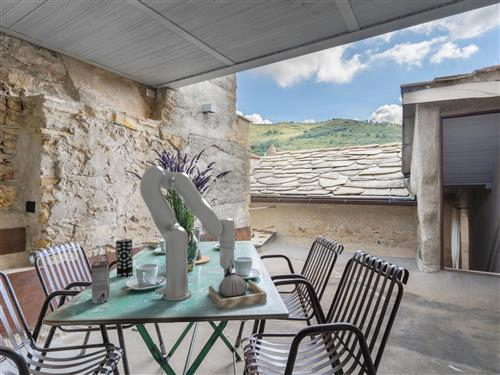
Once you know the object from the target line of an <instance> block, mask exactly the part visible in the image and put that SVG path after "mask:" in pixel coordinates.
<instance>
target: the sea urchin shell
mask: <svg viewBox="0 0 500 375" xmlns="http://www.w3.org/2000/svg"><path fill="white" fill-rule="evenodd" d="M247 290H248V283H247V282H246V280H244V278H242V277H241V276H239V275H236V274H232V275H228V276H226V277H225V278H223V279H222V280H221V282H219V285H218V292H219V293H220V295H222V296H225V297H232V296H233V297H237V296H241V295H242V294H244V293H245V292H246V291H247Z"/></svg>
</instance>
